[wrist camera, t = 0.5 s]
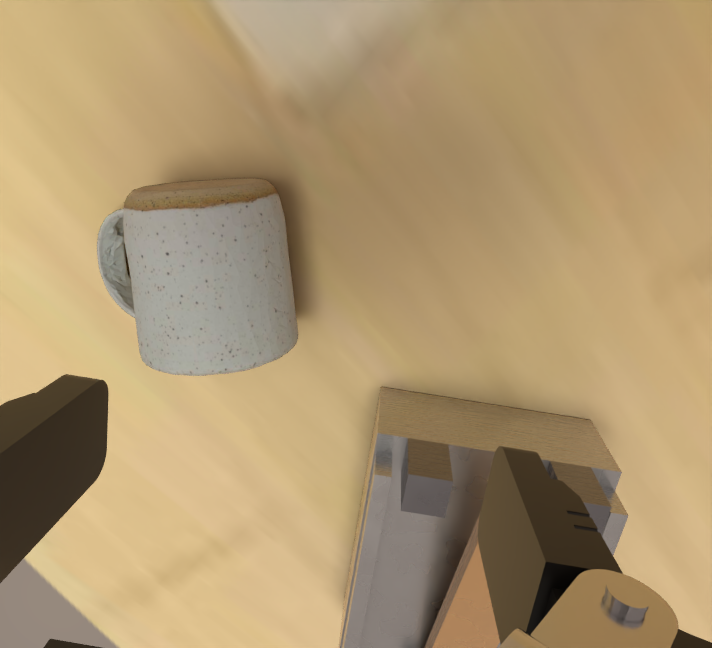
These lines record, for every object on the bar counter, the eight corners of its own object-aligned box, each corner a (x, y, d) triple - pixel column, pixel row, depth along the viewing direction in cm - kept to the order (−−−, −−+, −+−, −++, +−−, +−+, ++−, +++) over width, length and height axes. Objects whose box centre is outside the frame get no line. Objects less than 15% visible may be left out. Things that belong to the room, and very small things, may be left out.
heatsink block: (380, 386, 33) (374, 468, 26) (590, 419, 33) (645, 512, 25) (344, 598, 39) (330, 715, 31) (522, 627, 39) (551, 753, 31)
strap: (466, 503, 24) (467, 538, 22) (572, 520, 24) (580, 556, 22) (401, 672, 34) (399, 703, 33) (475, 685, 34) (477, 716, 33)
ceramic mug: (293, 167, 29) (254, 188, 22) (310, 320, 32) (281, 382, 25) (95, 182, 30) (-3, 206, 23) (128, 328, 33) (50, 389, 26)
